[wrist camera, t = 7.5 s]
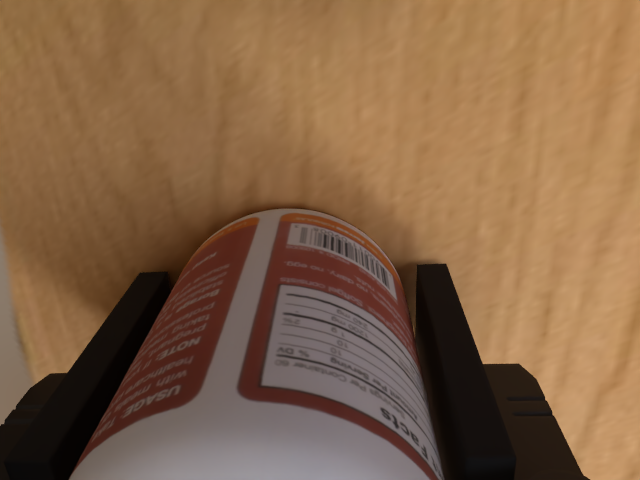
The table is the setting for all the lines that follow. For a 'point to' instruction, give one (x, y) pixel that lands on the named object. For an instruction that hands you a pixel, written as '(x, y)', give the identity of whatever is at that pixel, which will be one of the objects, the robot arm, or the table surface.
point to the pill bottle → (274, 366)
